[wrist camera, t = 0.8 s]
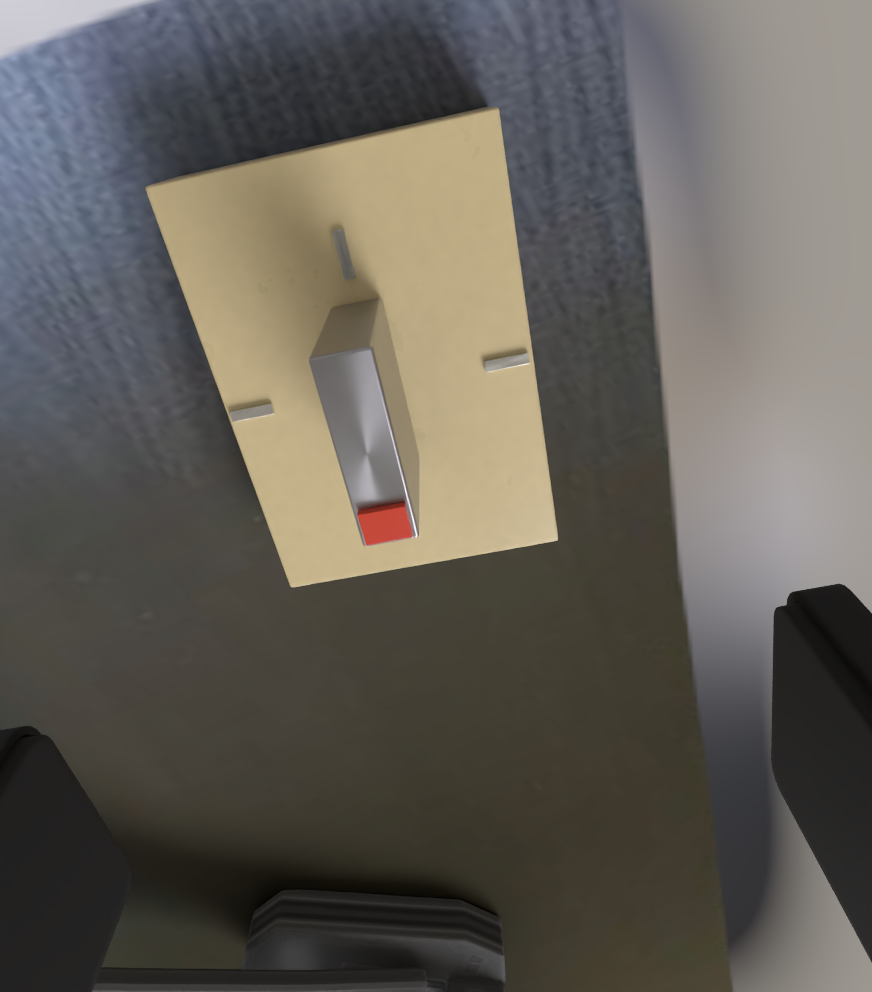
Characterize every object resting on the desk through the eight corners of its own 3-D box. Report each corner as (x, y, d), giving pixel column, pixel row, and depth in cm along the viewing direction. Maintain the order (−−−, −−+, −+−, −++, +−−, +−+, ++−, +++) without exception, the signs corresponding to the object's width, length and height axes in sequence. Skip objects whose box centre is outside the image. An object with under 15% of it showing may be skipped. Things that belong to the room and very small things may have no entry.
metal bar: (330, 307, 22) (305, 362, 17) (382, 296, 21) (371, 348, 17) (373, 467, 24) (362, 553, 20) (419, 459, 24) (419, 542, 19)
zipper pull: (4, 980, 32) (536, 1039, 35) (68, 846, 38) (519, 907, 41) (10, 1076, 36) (485, 1121, 40) (67, 942, 42) (477, 991, 45)
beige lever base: (175, 177, 23) (141, 187, 20) (489, 106, 22) (499, 106, 19) (302, 544, 29) (289, 591, 26) (546, 500, 28) (559, 543, 26)
